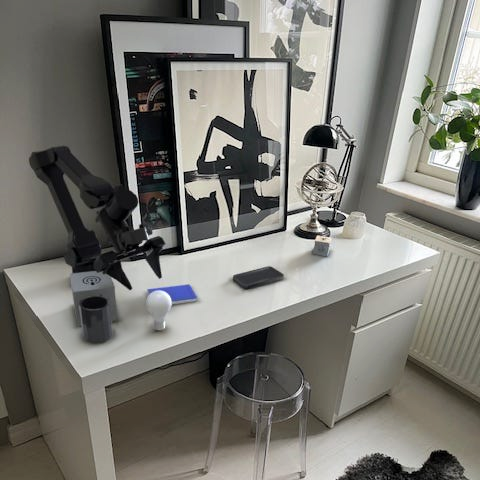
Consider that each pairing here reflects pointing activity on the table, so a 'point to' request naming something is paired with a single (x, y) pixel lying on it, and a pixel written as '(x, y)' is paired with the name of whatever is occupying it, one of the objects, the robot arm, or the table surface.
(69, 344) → the table surface
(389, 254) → the table surface
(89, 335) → the pen cup
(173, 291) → the hard drive
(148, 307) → the lightbulb
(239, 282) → the phone
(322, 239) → the dice cube
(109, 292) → the icon cube
